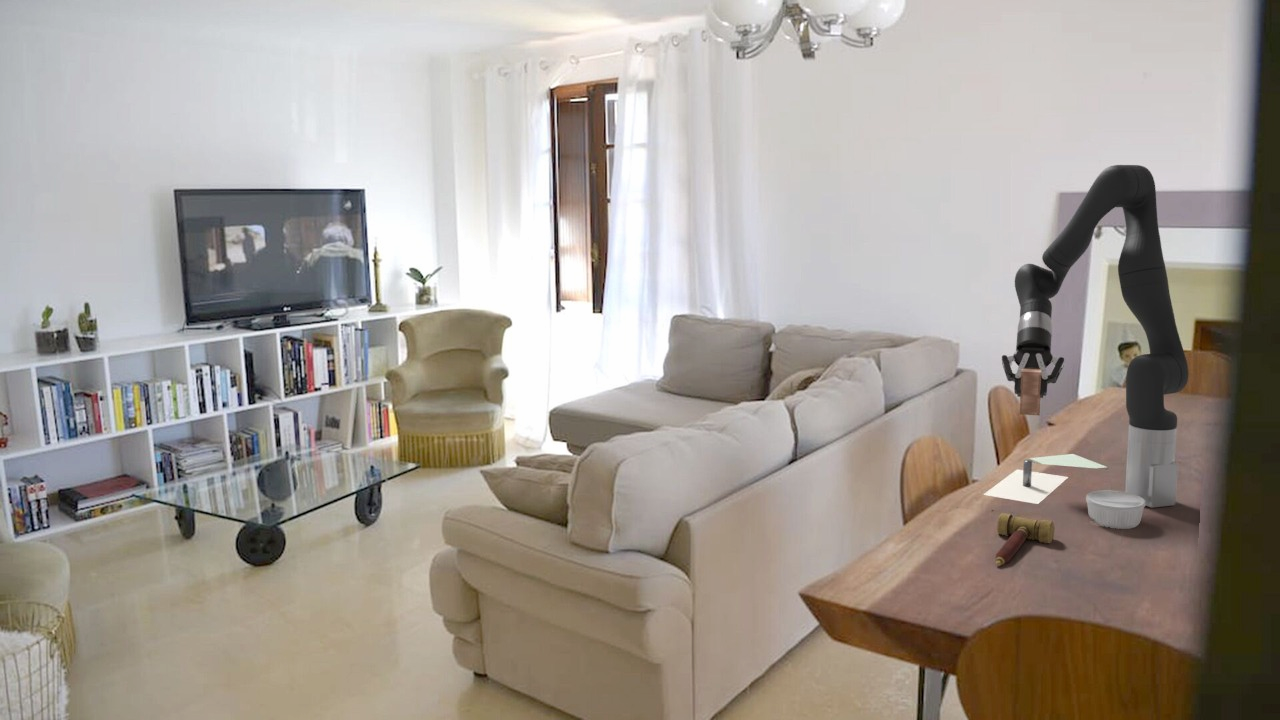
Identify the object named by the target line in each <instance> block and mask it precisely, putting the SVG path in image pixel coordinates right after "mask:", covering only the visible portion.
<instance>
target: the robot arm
mask: <svg viewBox="0 0 1280 720" xmlns="http://www.w3.org/2000/svg"><path fill="white" fill-rule="evenodd" d="M1156 191H1157V190H1156V183H1155V179H1154V176H1153V174H1152V172H1151V171H1150V170H1149V169H1148V168H1147V167H1146V166H1144V165H1139V164H1113V165H1111V166H1108V167H1105V168H1104V169H1103V170H1102V171H1101V172H1100V173H1099V174H1098V176H1097V177H1096V178H1095V180H1094V181H1093V183H1092V185H1090V187H1089V190H1088V191H1087V192H1086V195H1085V197H1084V198H1083V200H1082V201H1081V203H1080V205H1079V206H1078V207H1077V209H1076V211H1075V212H1074V214H1073V216H1072V217H1071V219H1069V222H1068V223H1067V225H1066V226H1065V227H1064V228H1063V230H1062V231H1061V232H1060V233H1059V234H1058V235H1057V237H1056V238H1055V239H1054V240H1053V241H1052V242H1051V243H1050V245H1049V246H1048V247H1047V248H1046V249H1045V251H1044V252H1043V254H1042V257H1041V259H1042V262H1043V264H1044V265H1045V266H1046V267H1047V268H1048V269H1047V268H1044V267H1042V266H1039V265H1037V264H1034V263H1025V264H1024V265H1021V266H1020V267H1019V268H1018V270H1017V271H1016V273H1015V278H1014V287H1015V292H1016V296H1017V298H1018V303H1019V307H1020V309H1019V310H1020V311H1019V320H1018V325H1017V332H1016V348H1015V352H1014V353H1013V355H1009V356H1008V355H1001V365H1002V368H1003V371H1004V374H1005V376H1006V379H1007V381H1008V382H1014V391H1013V392H1014V394H1015V395H1017V398H1018V397H1019V398H1020V395H1021V370H1022V369H1025V368H1029V369H1040V370H1042V372H1041V390H1040V398H1041V399H1044V397H1046V396H1047V394H1048V385H1049V384H1055V383H1057V381H1058V378H1059V377H1060V375H1061V373H1062V371H1063V368H1064V366H1065V358H1064V357H1061V356H1060V357H1054V356H1053V353H1052V337H1053V331H1052V330H1053V325H1052V311H1053V307H1052V306H1053V305H1052V302H1051V300H1050V299H1052V298H1054V297H1055V296H1057V294H1058V293H1059V291H1060V289H1061V287H1062V285H1063V282H1064V280H1065V278H1066V277H1067V275H1068V272H1069V271H1070V270H1071V268H1072V267H1073V266H1074V265H1075V263H1076V262H1077V261H1078V260H1079V259H1081V257H1082V256H1083V255H1084V253H1085V252H1086V251H1087V250H1088V248H1089V246H1090V244H1091V242H1092V239H1093V236H1094V233H1095V229H1096V228H1097V226H1098V224H1099V223H1100V222H1101V220H1102V219H1103V218H1104V217H1105V216H1106V215H1107V214H1109V212H1111V211H1112V210H1114V209H1116V208H1121V209H1122V210H1123V214H1124V221H1125V227H1126V228H1125V229H1126V230H1125V232H1126V233H1125V239H1124V243H1123V246H1122V249H1121V252H1120V255H1119V258H1118V259H1119V260H1118V265H1117V272H1118V279H1119V285H1120V291H1121V295H1122V298H1123V300H1124V303H1125V304H1126V306H1127V307H1128V309H1129V310H1130V312H1131V313H1132V314H1133V315H1134V317H1135V318H1136V319H1137V321H1138V322H1139V324H1140V325H1141V327H1142V329H1143V330H1144V332H1145V333H1144V334H1145V336H1146V339H1147V343H1148V348H1149V353H1146V354H1144V353H1143V354H1141V355H1137V356H1135V357H1133V359H1132V360H1131V361H1130V362H1129V364H1128V367H1127V369H1126V373H1125V374H1126V377H1125V408H1126V412H1127V415H1128V418H1129V420H1128V423H1129V424H1128V436H1127V437H1128V438H1127V439H1128V440H1127V452H1126V454H1127V455H1126V470H1125V489H1124V492H1128V493H1132V494H1135V495H1138V496H1140V497H1142V498H1143V499H1144V500H1145V507H1149V508H1160V507H1162V508H1163V507H1169V506H1176V498H1177V497H1176V495H1177V484H1178V472H1179V471H1178V469H1179V464H1178V462H1175V459H1176V458H1175V457H1176V456H1175V455H1176V444H1177V428H1178V416H1177V414H1176V413H1175V412H1174V411H1171V410H1167V409H1166V407H1165V398H1164V397H1165V395H1171V394H1177V393H1179V392H1181V391H1183V389H1185V387H1186V386H1187V384H1188V381H1189V366H1188V361H1187V357H1186V355H1185V354H1186V353H1185V351H1184V348H1183V344H1182V341H1181V338H1180V334H1179V332H1178V327H1177V324H1176V323H1177V322H1176V319H1175V313H1174V309H1173V304H1172V299H1171V294H1170V287H1169V280H1168V275H1167V268H1166V264H1165V260H1164V259H1165V258H1164V254H1163V249H1162V242H1161V235H1160V229H1159V222H1158V221H1159V220H1158V210H1157V209H1158V208H1157V192H1156ZM1013 362H1014V363H1015V364H1016V365H1017V366H1018V369H1017V371H1016V373H1013V370H1012V365H1013ZM1051 364H1053V365H1052V366H1053V369H1052V372H1051V373H1050V374H1047V370H1046V369H1047V367H1048V366H1050V365H1051Z"/></svg>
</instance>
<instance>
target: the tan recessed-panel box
mask: <svg viewBox="0 0 1280 720" xmlns="http://www.w3.org/2000/svg"><path fill="white" fill-rule="evenodd" d="M1041 372H1042V370H1040V369H1029V368H1025V369H1022V370H1021V395H1020V397H1019V415H1023V416H1025V415H1026V416H1040V414H1041V399H1042V398H1040V390H1041Z"/></svg>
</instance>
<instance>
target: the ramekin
mask: <svg viewBox="0 0 1280 720" xmlns="http://www.w3.org/2000/svg"><path fill="white" fill-rule="evenodd" d="M1085 501H1086V503H1087V512H1088V513H1087V514H1088V516H1089V517H1090V518H1091V520H1090V521H1091V522H1092V521H1093V524H1095V523H1096V525H1098V526H1100V525H1101V527H1104V526H1105V527H1106V528H1108V527H1110V529H1115V528H1116V529H1117V530H1118V529H1119V530H1127V529H1133V528H1136V527H1138V525H1140V523H1141V521H1142V517H1143V513H1144V508H1145V507H1146V506H1145V500H1144V499H1143V498H1142V497H1140V496H1138V495H1135V494H1132V493H1128V492H1125V491H1123V490H1122V491H1121V490H1112V489H1099V490H1098V489H1097V490H1093V491H1090V492H1088V493H1087V494H1086V495H1085ZM1105 527H1104V528H1105Z"/></svg>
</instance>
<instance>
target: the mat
mask: <svg viewBox="0 0 1280 720" xmlns="http://www.w3.org/2000/svg"><path fill="white" fill-rule="evenodd" d="M1028 460H1031V461H1032V463H1035V462H1036V463H1035V464H1038V463H1039V464H1038V465H1048V466H1049V465H1050V466H1064V467H1073V468H1075V467H1076V468H1087V469H1088V468H1089V469H1100V470H1106V469H1107V468H1109V467H1108V466H1106V465H1103V464H1101V463H1098V462H1095V461H1093V460H1091V459H1087V458H1085V457H1082V456H1080V455H1077V454H1074V453H1068V454H1067V453H1066V454H1059V455H1047V456H1046V455H1045V456H1040V457H1039V456H1037V457H1029V458H1028ZM1107 470H1108V469H1107Z"/></svg>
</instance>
